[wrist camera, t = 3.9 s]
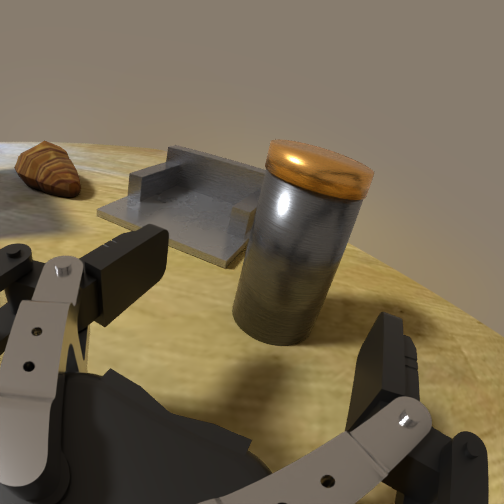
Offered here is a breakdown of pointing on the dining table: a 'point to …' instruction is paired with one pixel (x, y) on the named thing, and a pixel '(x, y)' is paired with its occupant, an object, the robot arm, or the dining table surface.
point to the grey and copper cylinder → (297, 239)
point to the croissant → (49, 170)
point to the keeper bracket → (193, 203)
